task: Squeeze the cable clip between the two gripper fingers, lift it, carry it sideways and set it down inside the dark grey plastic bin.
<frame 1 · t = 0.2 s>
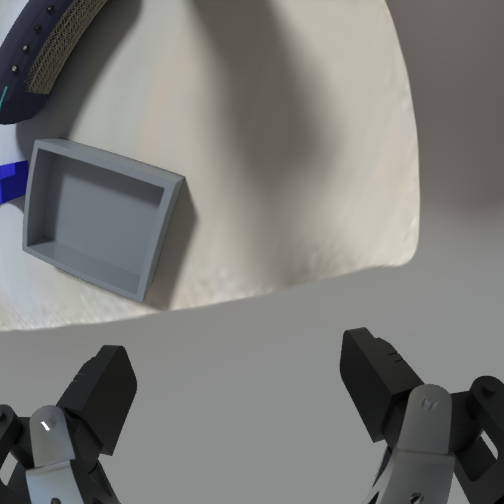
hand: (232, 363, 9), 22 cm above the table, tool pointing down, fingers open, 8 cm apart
portable speaker: (68, 38, 19), on the table
bin: (100, 208, 28), on the table
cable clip: (5, 179, 25), on the table
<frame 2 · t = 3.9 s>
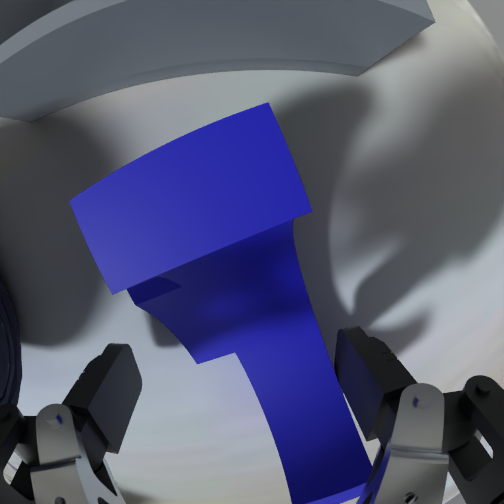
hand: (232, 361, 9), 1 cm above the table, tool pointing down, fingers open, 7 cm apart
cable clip: (252, 321, 11), on the table
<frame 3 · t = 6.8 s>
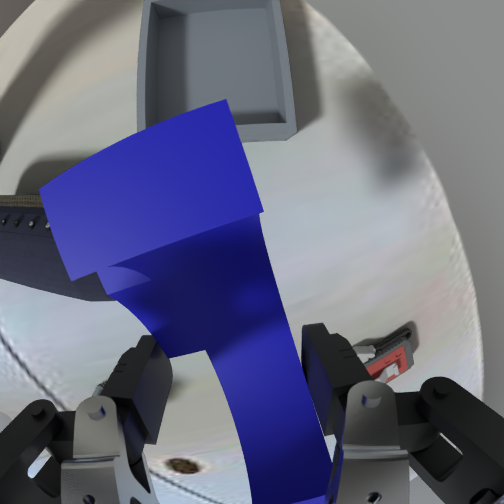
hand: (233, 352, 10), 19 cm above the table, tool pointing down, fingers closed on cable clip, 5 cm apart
portable speaker: (62, 232, 27), on the table
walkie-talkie: (349, 368, 34), on the table
bin: (214, 68, 23), on the table
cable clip: (226, 320, 11), point 18 cm above the table, touching gripper
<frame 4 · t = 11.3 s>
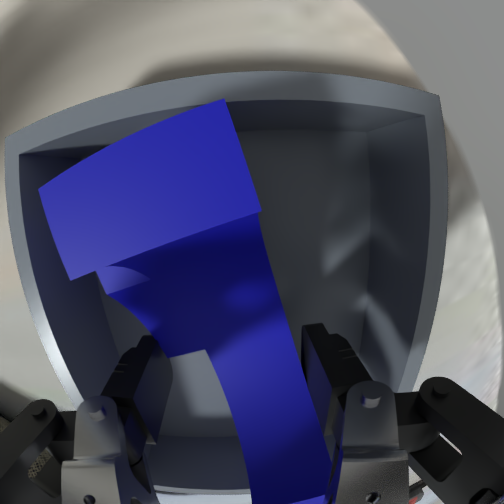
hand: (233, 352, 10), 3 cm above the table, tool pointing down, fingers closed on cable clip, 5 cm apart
portable speaker: (58, 450, 16), on the table
bin: (235, 317, 12), on the table
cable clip: (226, 320, 11), point 2 cm above the table, touching gripper
when the fingers open (3 cm above the table, at t = 11.7 s): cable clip moves 1 cm, resting on bin.
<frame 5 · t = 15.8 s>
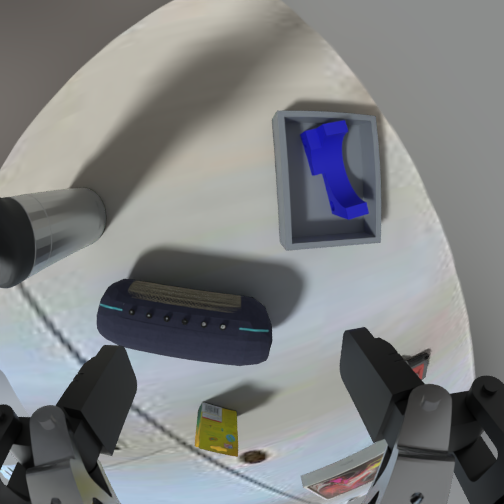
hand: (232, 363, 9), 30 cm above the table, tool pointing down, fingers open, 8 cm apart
crayon box: (217, 410, 47), on the table
product packaging: (353, 466, 59), on the table
portable speaker: (188, 307, 41), on the table
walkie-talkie: (387, 374, 48), on the table
bin: (323, 178, 37), on the table
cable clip: (326, 171, 36), point 1 cm above the table, touching bin
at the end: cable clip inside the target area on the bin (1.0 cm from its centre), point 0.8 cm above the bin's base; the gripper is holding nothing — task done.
